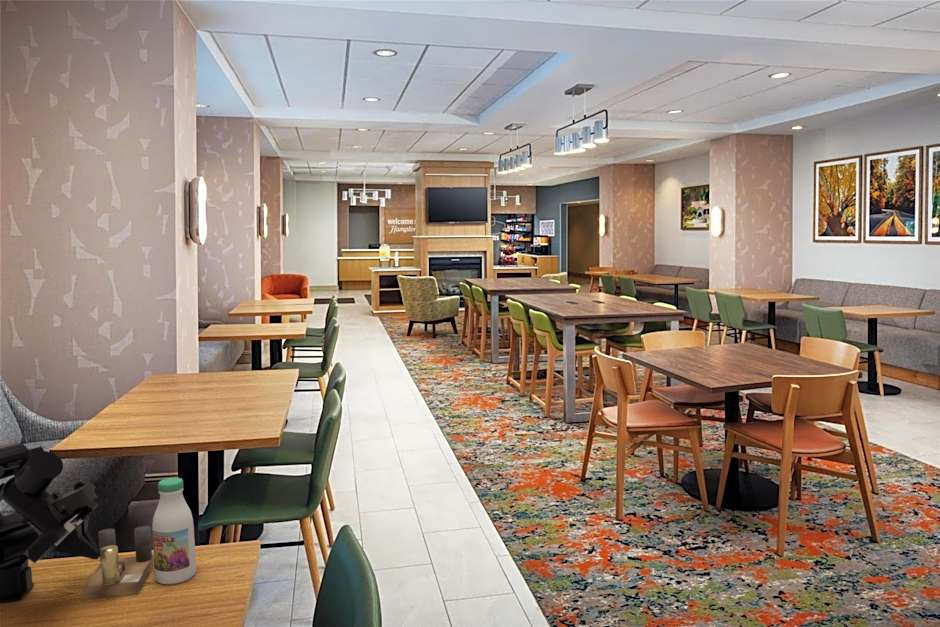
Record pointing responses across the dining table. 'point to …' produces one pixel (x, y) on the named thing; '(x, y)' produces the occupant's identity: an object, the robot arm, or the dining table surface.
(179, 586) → the dining table surface
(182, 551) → the milk bottle
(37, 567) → the dining table surface
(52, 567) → the dining table surface
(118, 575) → the gold cylinder with bar
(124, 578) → the square plate with pegs
